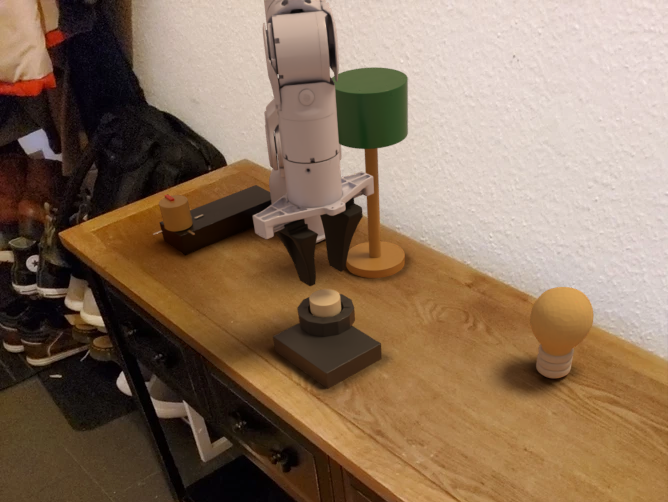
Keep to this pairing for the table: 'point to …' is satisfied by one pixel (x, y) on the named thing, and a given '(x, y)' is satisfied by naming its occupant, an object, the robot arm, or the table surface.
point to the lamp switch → (325, 303)
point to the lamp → (372, 151)
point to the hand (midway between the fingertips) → (322, 274)
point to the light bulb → (560, 328)
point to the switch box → (327, 344)
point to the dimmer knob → (175, 212)
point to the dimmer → (218, 220)
